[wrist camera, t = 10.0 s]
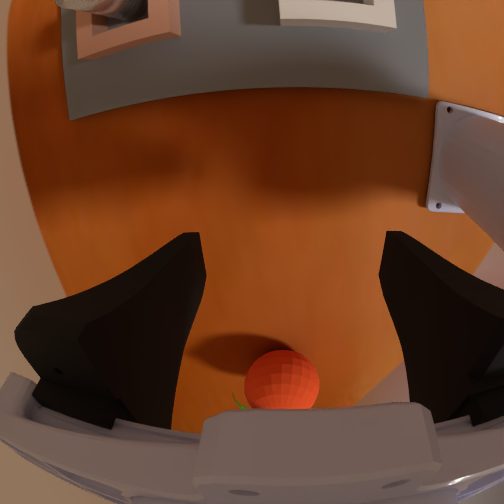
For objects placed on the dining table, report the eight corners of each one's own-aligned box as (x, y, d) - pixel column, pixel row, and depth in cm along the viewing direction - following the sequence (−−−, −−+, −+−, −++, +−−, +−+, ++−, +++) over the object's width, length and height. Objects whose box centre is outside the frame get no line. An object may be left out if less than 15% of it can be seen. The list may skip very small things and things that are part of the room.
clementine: (240, 375, 31) (232, 432, 25) (233, 333, 27) (221, 397, 21) (314, 376, 30) (316, 433, 24) (320, 333, 27) (325, 399, 21)
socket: (177, -43, 11) (166, -54, 9) (181, 36, 14) (169, 31, 12) (92, -15, 11) (76, -21, 10) (94, 59, 15) (77, 59, 13)
